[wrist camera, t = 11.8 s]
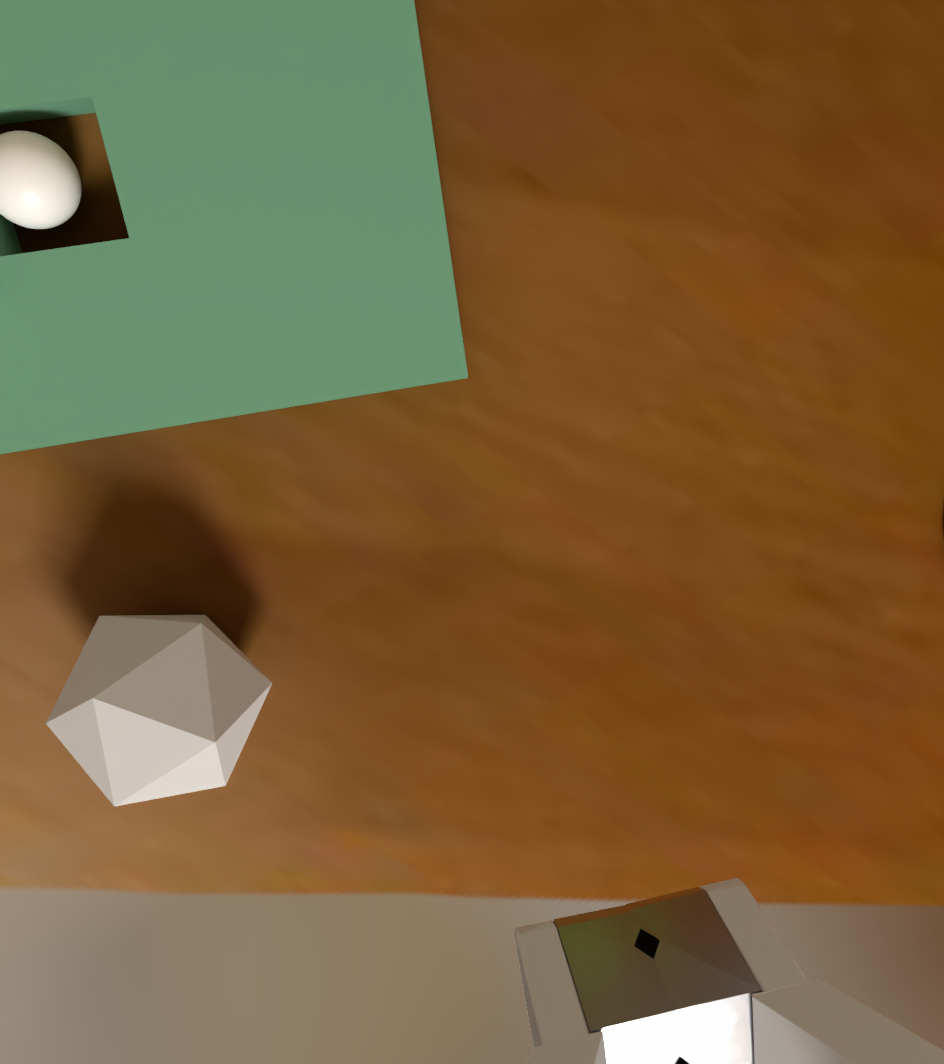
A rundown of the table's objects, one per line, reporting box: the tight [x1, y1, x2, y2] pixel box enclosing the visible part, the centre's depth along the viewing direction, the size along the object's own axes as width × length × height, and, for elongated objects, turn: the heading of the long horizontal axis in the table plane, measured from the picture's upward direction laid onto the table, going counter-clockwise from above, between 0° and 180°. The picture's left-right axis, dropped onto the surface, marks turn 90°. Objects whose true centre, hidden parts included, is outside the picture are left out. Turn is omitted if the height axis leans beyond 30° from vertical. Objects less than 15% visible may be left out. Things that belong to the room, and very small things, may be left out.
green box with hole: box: [0, 0, 468, 454], centre depth 30 cm, size 20×20×6 cm
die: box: [46, 615, 272, 806], centre depth 35 cm, size 8×9×10 cm
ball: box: [0, 131, 82, 229], centre depth 30 cm, size 4×4×4 cm
